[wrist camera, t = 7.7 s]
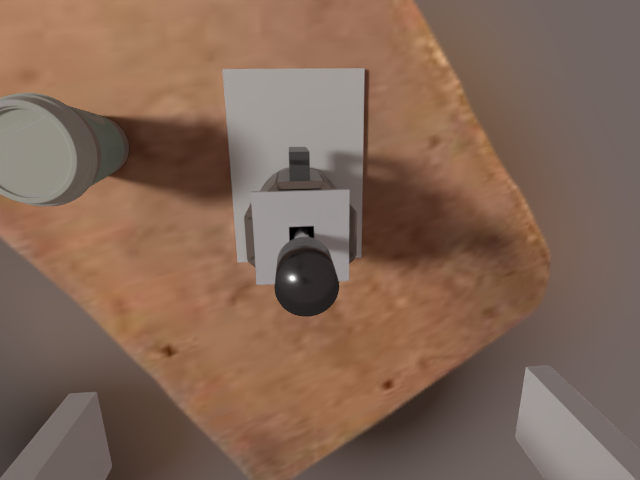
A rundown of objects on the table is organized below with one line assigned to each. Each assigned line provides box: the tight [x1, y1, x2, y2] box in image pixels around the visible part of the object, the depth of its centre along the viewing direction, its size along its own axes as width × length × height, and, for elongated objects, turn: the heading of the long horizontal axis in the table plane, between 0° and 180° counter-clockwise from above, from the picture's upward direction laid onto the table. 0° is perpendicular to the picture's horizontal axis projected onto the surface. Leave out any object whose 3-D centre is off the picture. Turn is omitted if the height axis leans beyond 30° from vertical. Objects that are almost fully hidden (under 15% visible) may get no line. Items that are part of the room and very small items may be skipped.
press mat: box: [223, 68, 365, 262], centre depth 42 cm, size 20×14×1 cm
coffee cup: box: [0, 93, 129, 206], centre depth 34 cm, size 8×8×12 cm
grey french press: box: [244, 147, 357, 285], centre depth 37 cm, size 11×9×12 cm
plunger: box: [275, 226, 339, 316], centre depth 30 cm, size 4×4×16 cm
